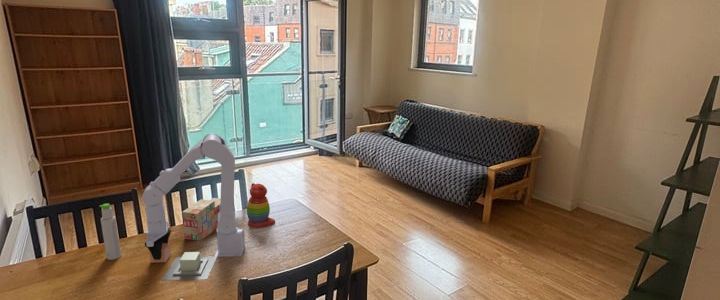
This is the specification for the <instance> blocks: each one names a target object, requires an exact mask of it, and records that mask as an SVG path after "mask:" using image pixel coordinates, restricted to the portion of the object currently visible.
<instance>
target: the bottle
mask: <svg viewBox="0 0 720 300" xmlns="http://www.w3.org/2000/svg"><path fill="white" fill-rule="evenodd" d="M99 208H101V216H102V217H100V224H101V231H102V237H103V243H104V249H105V256H106V259H107V260H111V261H112V260H117V259H118V258H120V257H121V256H122V253H121V251H122V250H121V246H120V239H119V231H118V226H117V220H116V219H117V218H116V215H114V213H113V208H112V207H111V205H110V203H103V204H101V205H99Z"/></svg>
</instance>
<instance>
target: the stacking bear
mask: <svg viewBox="0 0 720 300" xmlns="http://www.w3.org/2000/svg"><path fill="white" fill-rule="evenodd" d="M250 186H251V187H250V189H249V194H250V198H248V201H247V205H246V214H247V219H248V221H247V226H248V227H250V228H251V229H252V228H253V229H263V228H267V227H271V226H273V225H275V224H276V220H275V219H274V218H271V217H269V216H270V209H271V207H270V204H269V200H268V197H267V196H266V195H267V194H268V188H266V186H265V185H264V184H262V183H254V182H252V183H251V184H250Z"/></svg>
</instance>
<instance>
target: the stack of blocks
mask: <svg viewBox="0 0 720 300" xmlns="http://www.w3.org/2000/svg"><path fill="white" fill-rule="evenodd" d="M220 203H221V197H220V198H218V197H212V198H211V199H210V200H209V199H202V198H201V199H199V200H197V201H196V202H194V203H193V204H192V205H190V206H188V208H186V209H184V210H183V211H182V224H183V231H184V234H183V235H184V240H193V241H201V240H204V239H205V238H207V236H209V235H210V234H212V233H213V231H215V230H217V224H218V218H217V215H218V212H219V211H220Z"/></svg>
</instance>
